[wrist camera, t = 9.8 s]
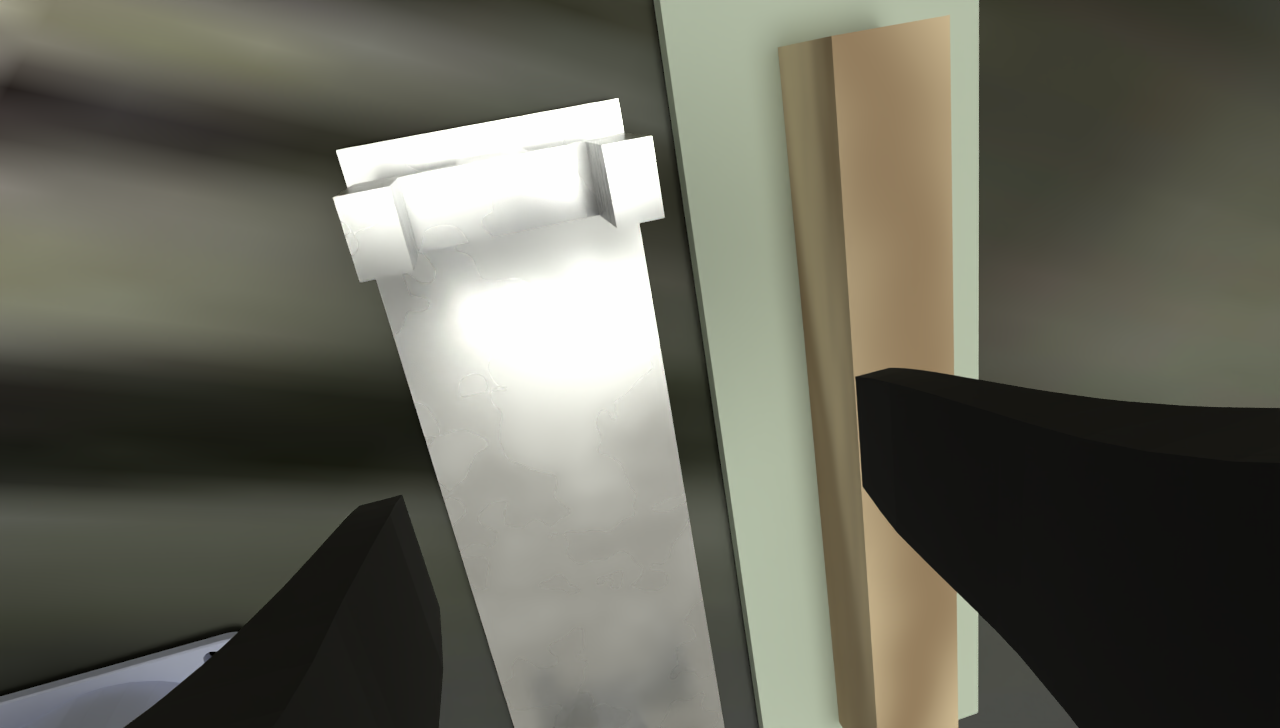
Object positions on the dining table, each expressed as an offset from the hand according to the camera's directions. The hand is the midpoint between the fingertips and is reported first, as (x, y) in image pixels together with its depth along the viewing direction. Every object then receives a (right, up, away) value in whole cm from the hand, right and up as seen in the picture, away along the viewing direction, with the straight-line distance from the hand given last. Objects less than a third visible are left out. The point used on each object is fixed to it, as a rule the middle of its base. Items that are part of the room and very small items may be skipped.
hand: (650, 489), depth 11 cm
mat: (+7, 0, +13) cm, 15 cm away
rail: (+7, 0, +13) cm, 14 cm away
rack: (-2, -3, +12) cm, 12 cm away
